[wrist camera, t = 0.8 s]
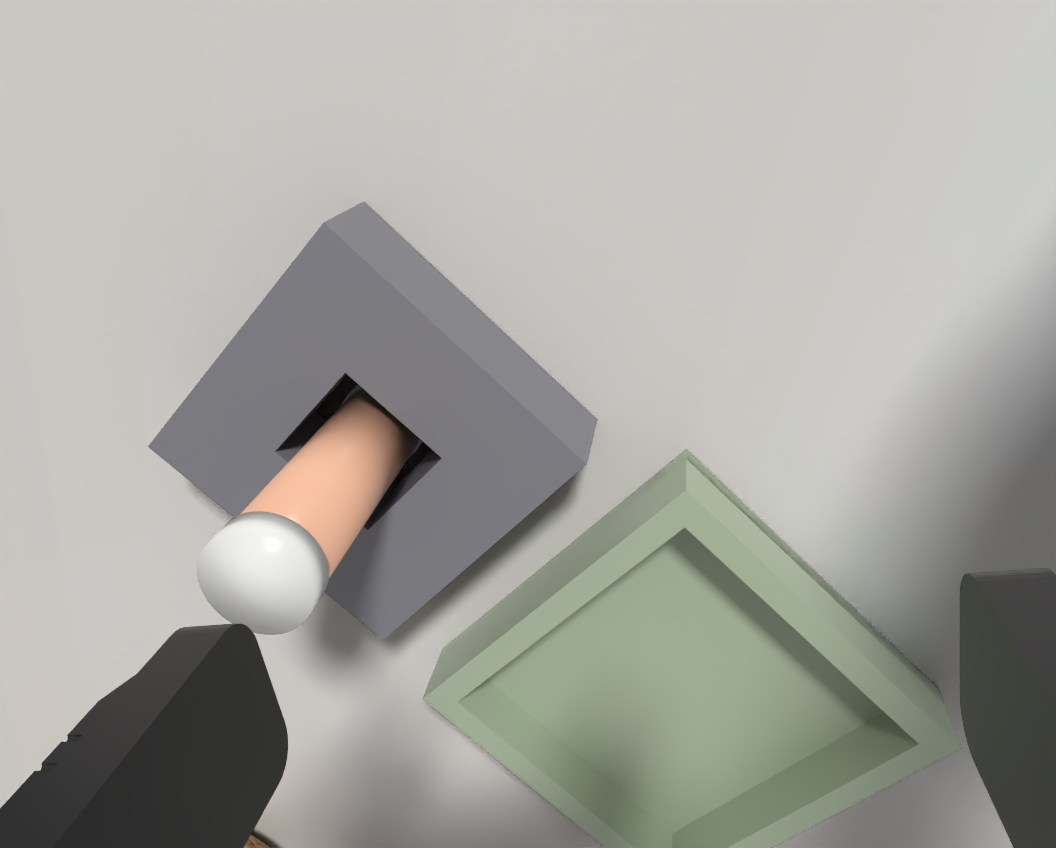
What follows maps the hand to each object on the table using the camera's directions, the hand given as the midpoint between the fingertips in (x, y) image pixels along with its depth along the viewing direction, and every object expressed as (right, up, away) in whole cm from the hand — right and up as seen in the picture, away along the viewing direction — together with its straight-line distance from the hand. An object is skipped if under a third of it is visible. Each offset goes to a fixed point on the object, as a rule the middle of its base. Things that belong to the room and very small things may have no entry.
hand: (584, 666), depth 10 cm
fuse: (-6, +3, +22) cm, 23 cm away
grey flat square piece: (-6, +3, +22) cm, 23 cm away
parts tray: (+5, -7, +25) cm, 26 cm away
